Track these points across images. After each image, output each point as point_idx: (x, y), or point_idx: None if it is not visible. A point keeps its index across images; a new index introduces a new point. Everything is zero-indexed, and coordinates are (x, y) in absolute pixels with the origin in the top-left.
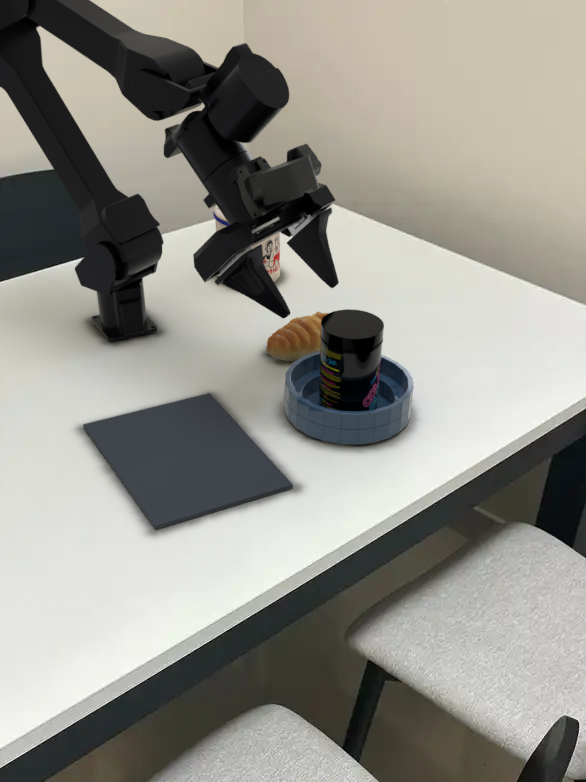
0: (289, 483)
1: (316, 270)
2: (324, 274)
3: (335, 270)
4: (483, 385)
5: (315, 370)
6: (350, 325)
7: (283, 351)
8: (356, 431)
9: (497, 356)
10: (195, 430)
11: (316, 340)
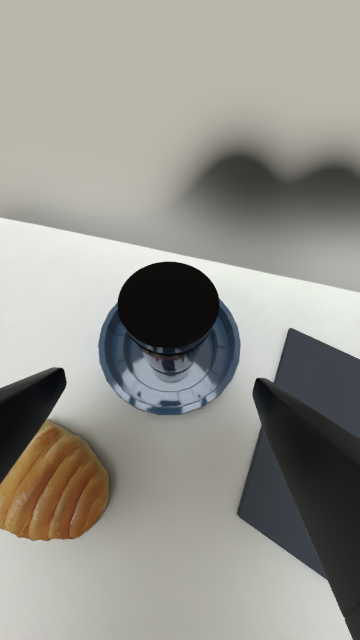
0: (292, 330)
1: (17, 448)
2: (36, 410)
3: (20, 380)
4: (74, 278)
5: (143, 398)
6: (176, 299)
7: (106, 479)
8: None
9: (17, 285)
10: None
11: (69, 444)
